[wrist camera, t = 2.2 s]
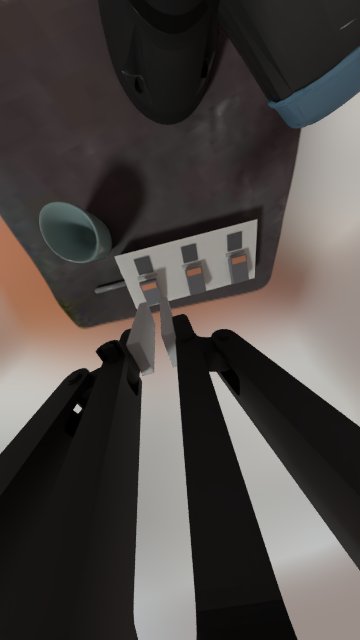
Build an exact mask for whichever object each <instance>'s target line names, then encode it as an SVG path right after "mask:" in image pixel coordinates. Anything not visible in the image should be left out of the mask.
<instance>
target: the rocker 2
mask: <svg viewBox="0 0 360 640" xmlns="http://www.w3.org/2000/svg"><path fill="white" fill-rule="evenodd" d="M184 271H185V275H186V279H187V284H188V288H189V292H190V295H195V294H198V293H202V292H206V286H205V281H204V276H203V271H202V266H197V267H193V268H190V269H186V270H184Z"/></svg>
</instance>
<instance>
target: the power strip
mask: <svg viewBox="0 0 360 640" xmlns="http://www.w3.org/2000/svg"><path fill="white" fill-rule="evenodd" d="M256 237H257V219H256V220H253V221H249V222H245V223H241V224H237V225H233V226H230V227H226V228H222V229H218V230H214V231H210V232H207V233H203V234H199V235H195V236H191V237H188V238H184V239H180V240H176V241H172V242H168V243H165V244H161V245H157V246H153V247H149V248H145V249H142V250H138V251H134V252H130V253H126V254H123V255H119V256H115V259H116V262H117V264H118V266H119V269H120V271H121V273H122V276H123V278H124V280H125V281H122V282H118V283H115V284H111V285H107V286H103V287H100V288H96V289H95V292H96V293H101V292H105V291H109V290H112V289H116V288H120V287H124V286H127V287H128V290H129V292H130V294H131V297H132V299H133V301H134V304H135V306H136V308H137V309H138V307H139V304H140V303H144V302H147V301H146V299H145V297H144V295H143V292H142V290H141V288H140V285H139V282H141V281H145V280H149V279H153V278H156V279H157V282H158V286H159V289H160V292H161V295H162V297H166V296H167V298H168V301H170V300H174V299H178V298H182V297H185V296H189V295H190V292H189V288H188V284H187V279H186V275H185V271H184V270H186V269H190V268H193V267H197V266H202V271H203V276H204V281H205V286H206V291H207V290H211V289H215V288H219V287H222V286H226V285H230V284H231V278H230V271H229V264H228V258H231V257H235V256H238V255H242V254H246V257H247V266H248V274H249V279H252V278H254V277H255V257H256ZM158 304H159V303H158ZM154 305H156V304H154ZM151 306H152V305H151Z"/></svg>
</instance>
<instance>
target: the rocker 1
mask: <svg viewBox="0 0 360 640" xmlns="http://www.w3.org/2000/svg"><path fill="white" fill-rule="evenodd" d="M139 285H140V288H141V290H142V292H143V295H144V297H145V299H146V301H147V304H148V306H151V305H154V304H158V303H160V298H162V295H161V292H160V289H159V286H158V282H157V279H156V278H153V279H149V280H145V281H141V282H139Z"/></svg>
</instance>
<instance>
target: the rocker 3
mask: <svg viewBox="0 0 360 640" xmlns="http://www.w3.org/2000/svg"><path fill="white" fill-rule="evenodd" d="M228 264H229V271H230V278H231V284H235V283H239V282H243V281H247V280H249V274H248V266H247V257H246V254H242V255H238V256H235V257H231V258H228Z"/></svg>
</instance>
